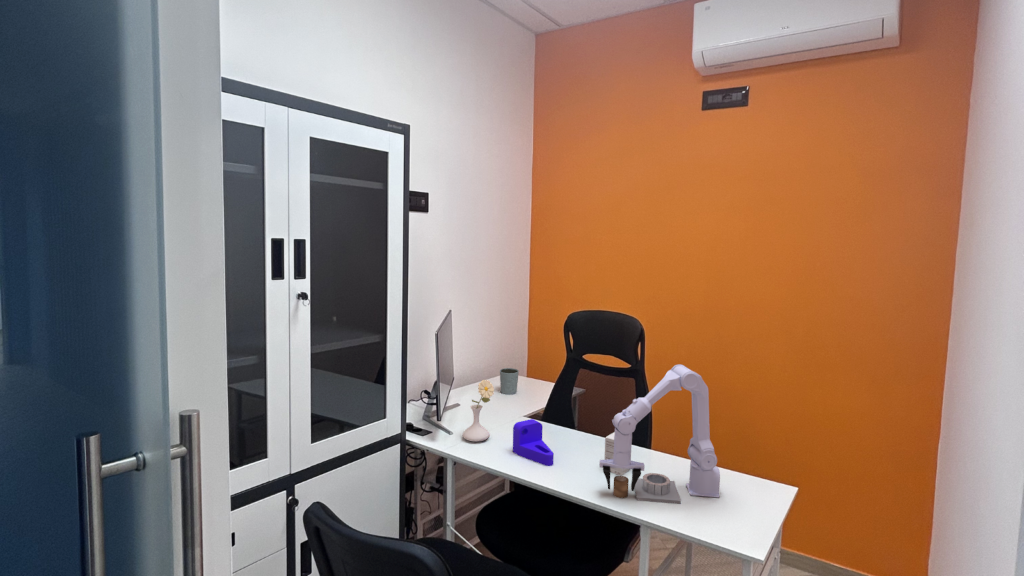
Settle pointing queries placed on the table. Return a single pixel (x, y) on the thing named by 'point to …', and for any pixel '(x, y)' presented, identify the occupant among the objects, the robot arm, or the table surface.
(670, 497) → the mount plate
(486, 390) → the flower in vase
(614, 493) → the walnut cap
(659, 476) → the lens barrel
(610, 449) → the supplement box
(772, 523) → the table surface
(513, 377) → the green cylindrical pot
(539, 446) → the bracket
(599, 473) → the table surface
